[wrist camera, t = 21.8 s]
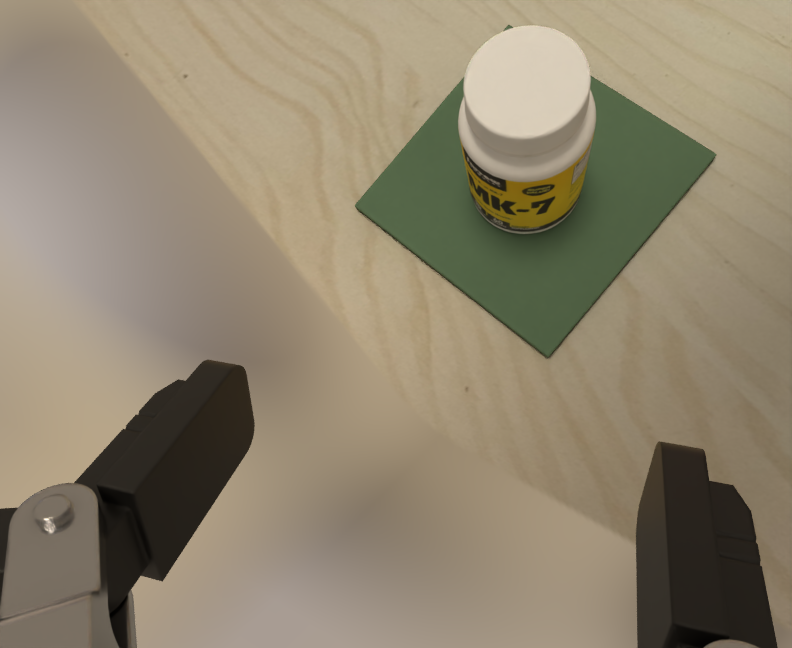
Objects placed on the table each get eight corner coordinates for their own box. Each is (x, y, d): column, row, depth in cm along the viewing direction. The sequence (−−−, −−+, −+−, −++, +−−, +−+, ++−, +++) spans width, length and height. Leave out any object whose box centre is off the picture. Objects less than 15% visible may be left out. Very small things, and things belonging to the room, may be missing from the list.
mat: (714, 158, 28) (716, 153, 28) (547, 358, 28) (547, 356, 28) (508, 29, 31) (508, 24, 31) (356, 208, 31) (354, 205, 31)
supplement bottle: (455, 219, 30) (427, 127, 21) (492, 123, 30) (478, -2, 22) (562, 251, 28) (575, 166, 20) (598, 150, 29) (624, 29, 21)
